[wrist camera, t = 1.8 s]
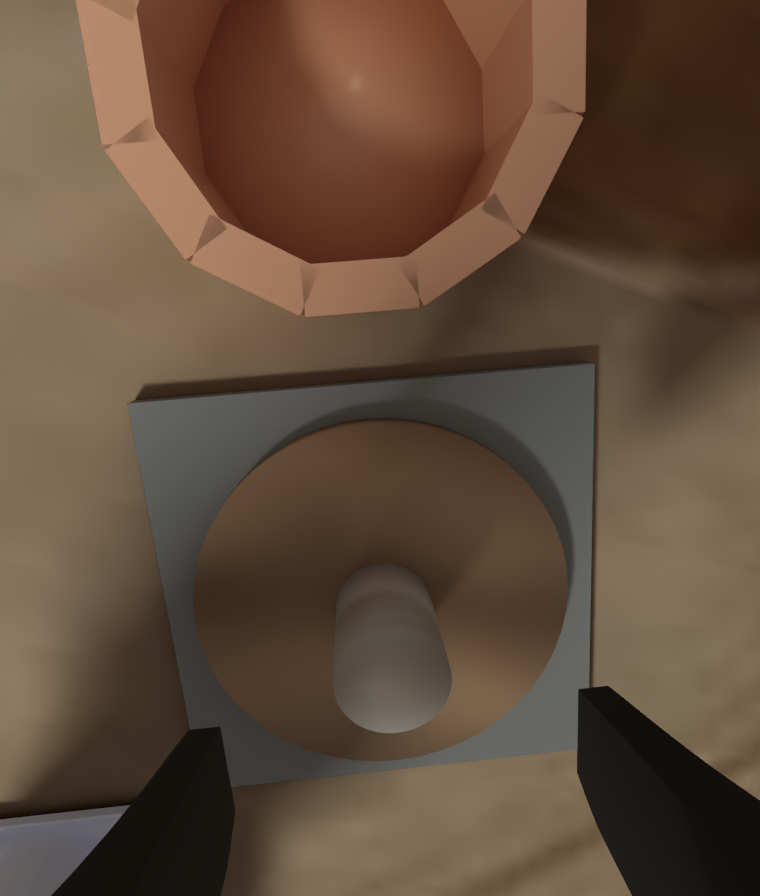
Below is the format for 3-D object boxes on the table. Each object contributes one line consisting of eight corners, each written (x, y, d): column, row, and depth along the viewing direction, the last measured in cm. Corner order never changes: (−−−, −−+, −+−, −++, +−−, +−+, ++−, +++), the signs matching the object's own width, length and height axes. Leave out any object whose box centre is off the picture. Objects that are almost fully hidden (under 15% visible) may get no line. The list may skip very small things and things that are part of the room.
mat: (581, 737, 20) (588, 747, 19) (205, 778, 19) (201, 790, 19) (587, 361, 17) (595, 363, 16) (133, 400, 16) (126, 403, 16)
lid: (558, 726, 19) (615, 841, 15) (228, 761, 19) (195, 889, 15) (559, 401, 16) (630, 435, 12) (170, 435, 16) (110, 482, 12)
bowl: (518, 295, 16) (582, 294, 12) (193, 322, 16) (136, 330, 11) (512, -92, 14) (590, -274, 9) (132, -71, 13) (30, -248, 9)
